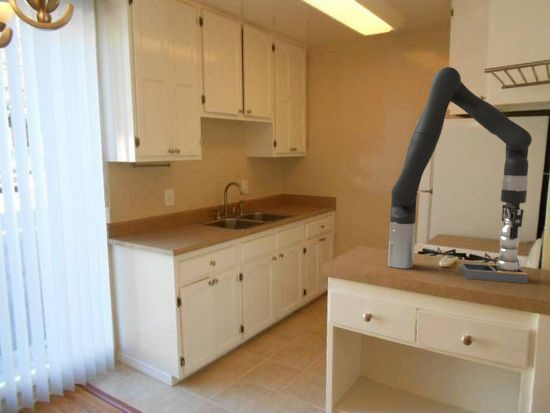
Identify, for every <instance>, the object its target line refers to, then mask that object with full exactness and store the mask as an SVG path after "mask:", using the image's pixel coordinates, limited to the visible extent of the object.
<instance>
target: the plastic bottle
mask: <svg viewBox="0 0 550 413" xmlns="http://www.w3.org/2000/svg"><path fill="white" fill-rule="evenodd" d="M505 223H506V224H505V225H504V224H503V226H502V227H501V228H500V230H499V254H498V260H497V261H496V264H497V270H498V271H509V272H518V268H519V261H518V260H519V258H518V251H519V250H518V249H519V244H520V240H521V235H522V234H521V231H520V227H519V228H518V235H517V238H516V239H514V238H510V237H509V236H510V221H508V218H505ZM515 223H516V221H515Z"/></svg>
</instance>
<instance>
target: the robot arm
mask: <svg viewBox="0 0 550 413" xmlns="http://www.w3.org/2000/svg"><path fill="white" fill-rule="evenodd" d="M461 78H462V77H461V75H460V73H459V71H458V70H457V69H456V68H454V67H450V66H447V67H443V68H441V69H439V70H438V71H437V72H436V74H434V76H433V79H432V83H431V86H430V91H429V95H428V97H427V101H426V104H425V106H424V108H423V110H422V113H421V115H420V117H419V119H418V121H417V124H416V126H415V128H414V130H413V133H412V136H411V138H410V141H409V143H408V144H409V145H408V147H407V151H406V156H405V159H404V164H403V167H402V169H401V171H400V175H399V176H398V178H397V180H396V182H395V184H394V185H393V186H392V188H391V192H390V194H391V201H390V202H391V205H390V206H391V207H390V223H389V240H388V256H387V257H388V259H387V264H388V267H390V268H394V269H395V268H396V269H412V268H413V267H414V255H415V254H414V253H415V236H416V219H417V218H416V216H417V196H418V191H419V187H420V184H421V181H422V177H423V174H424V172H425V170H426V168H427V166H428V164H429V162H430V160H431V158H432V157H433V154H434V152H435V150H436V147H437V145H438V143H439V139H440V137H441V134H442V130H443V128H444V122H445V118H446V114H447V111H448V107H449V105H450V104H451V103H452V104H454V105H456V106H458V108H460V109H462V110H463V111H464V112H465V113H466V114H468V115H469V116H470V117H471V118H472V119H473V120H475V121H476V122H477V123H478V125H479V124H480V125H481V127H482V128H484V129H485V130H486V131H488V132H489V133H491V134H492V135H494V136H496V137H497V138H498V139H500V140H501V141H502V142H503V143H505V160H504V161H505V162H504V167H503V168H504V169H503V176H502V177H503V178H502V182H501V193H500V201H501V202H502V203H505V204H502V207H501V208H502V209H501V210H502V212H501V221H502V223H503V226H504V225H505V224H506V223H505V218H508V221H510V236H509V237H510V238H514V239H516V238H517V235H518V228H519V229H520V228H521V227H522V225H523V224H522V223H523V218H524V209H521V205H520V204H526V202H527V194H528V173H529V172H528V171H529V160H528V154H529V148H530V145H531V144H532V141H533V139H532V135H531V134H530V132H528V130H526V129H525V128H524V127H522V126H521V125H520V124H518V123H516V122H514V121H513V120H511V119H510V118H509V117H508V116H507V115H505V113H503V112H501V111H500V110H499V109H498V108H497V107H495V105H492V104H491V103H489V102H488V101H486V100H484V99H482V98H480V97H479V96H477V95H476V94H475V93H473V92H472V91H471V90H470V89H469V88H468V87H467V86H466V85H465V84H464V83H463V82H462V79H461ZM515 221H516V223H515Z"/></svg>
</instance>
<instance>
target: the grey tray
mask: <svg viewBox="0 0 550 413" xmlns="http://www.w3.org/2000/svg"><path fill="white" fill-rule="evenodd" d="M459 271H460V272H461V273H462V275H463V276H464V277H465V279H467V280H478V281H491V282H504V283H518V284H519V283H520V284H528V283H529V281H528V279H529V274H528V273H527V272H525V271H524V270H523V269H521V268H520V267H518V272H509V271H498V270H497V263H495V264H494V263H489V264H483V263H482V264H481V263H472V262H471V263H469V262H468V263H467V262H461V263H460V270H459Z"/></svg>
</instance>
